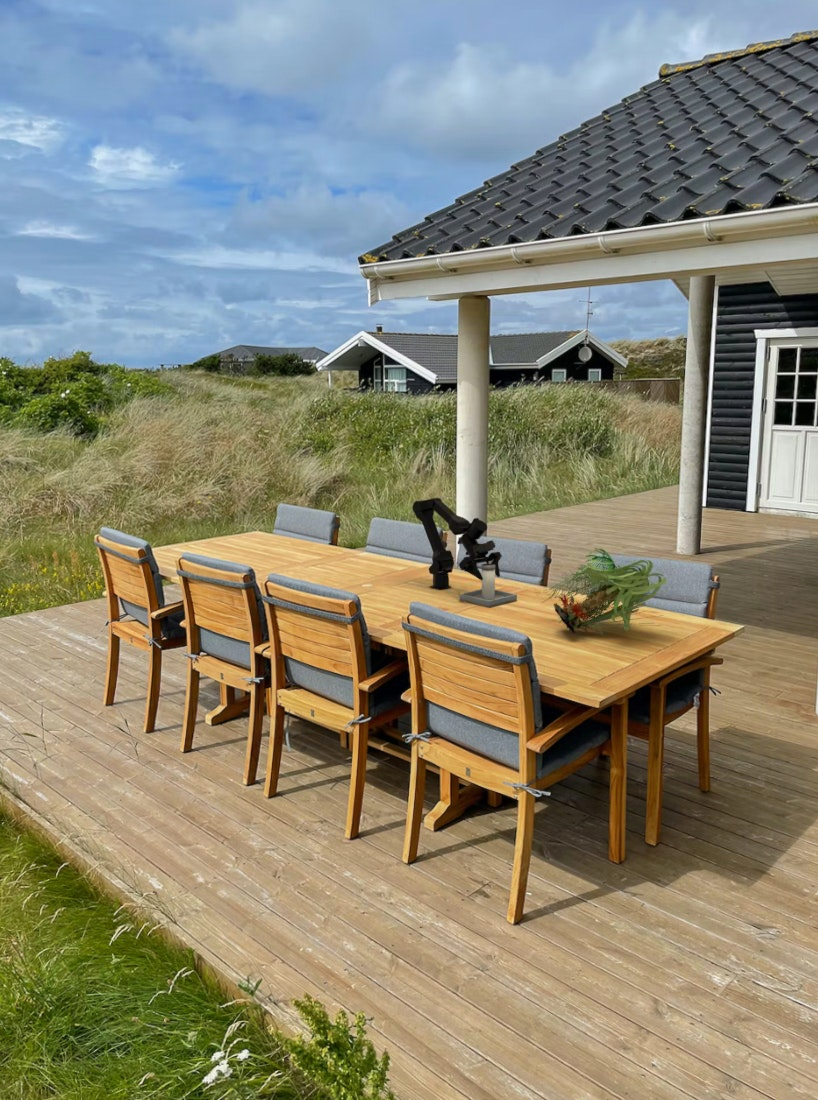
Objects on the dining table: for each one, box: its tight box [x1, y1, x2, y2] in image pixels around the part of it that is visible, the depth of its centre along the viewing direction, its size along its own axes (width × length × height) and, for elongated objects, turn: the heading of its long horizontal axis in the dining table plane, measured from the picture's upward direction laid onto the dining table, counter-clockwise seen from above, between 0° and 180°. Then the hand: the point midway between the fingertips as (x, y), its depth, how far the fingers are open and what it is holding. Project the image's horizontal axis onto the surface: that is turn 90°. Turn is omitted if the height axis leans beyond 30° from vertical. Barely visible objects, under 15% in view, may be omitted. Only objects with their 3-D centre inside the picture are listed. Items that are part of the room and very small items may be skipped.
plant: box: [534, 548, 667, 636], centre depth 294 cm, size 35×35×40 cm
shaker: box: [480, 563, 496, 600], centre depth 340 cm, size 5×5×14 cm
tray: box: [459, 588, 518, 609], centre depth 342 cm, size 16×16×2 cm
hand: (490, 578), depth 339 cm, fingers open, 9 cm apart
